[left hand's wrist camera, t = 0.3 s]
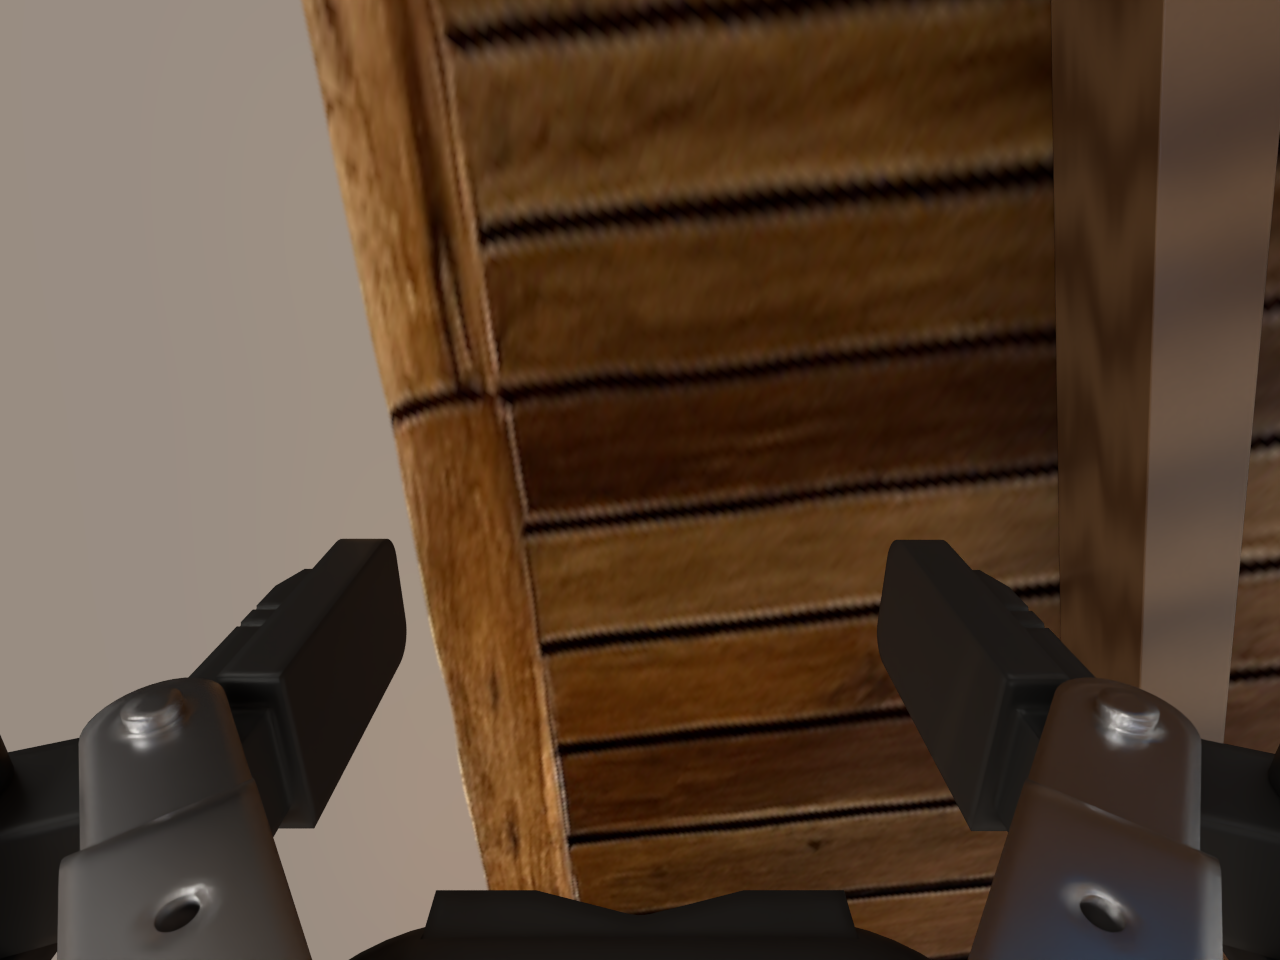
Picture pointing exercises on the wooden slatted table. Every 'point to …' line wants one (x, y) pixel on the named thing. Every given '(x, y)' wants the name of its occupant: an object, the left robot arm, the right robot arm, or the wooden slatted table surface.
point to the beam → (1159, 328)
